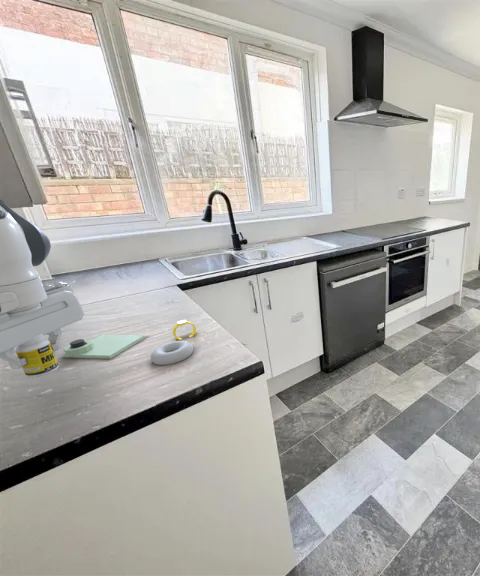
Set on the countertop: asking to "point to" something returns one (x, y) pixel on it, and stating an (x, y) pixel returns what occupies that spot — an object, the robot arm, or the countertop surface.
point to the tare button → (77, 343)
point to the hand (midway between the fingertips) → (37, 358)
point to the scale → (103, 346)
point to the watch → (184, 324)
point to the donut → (171, 352)
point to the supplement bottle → (37, 357)
